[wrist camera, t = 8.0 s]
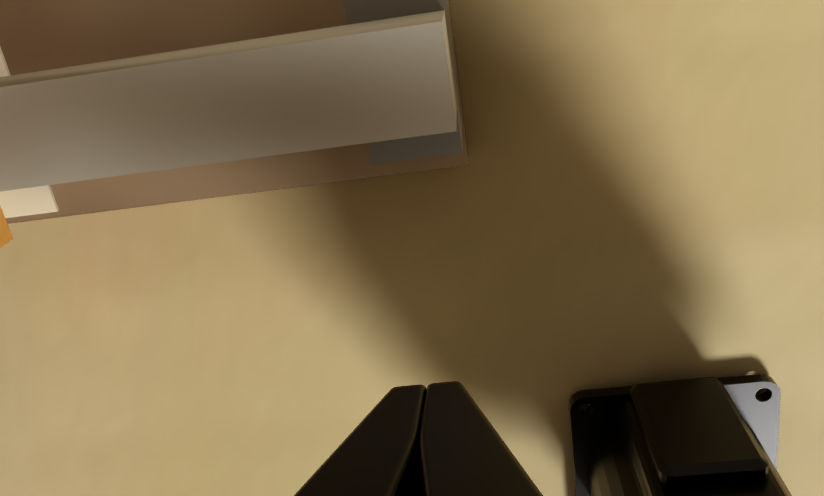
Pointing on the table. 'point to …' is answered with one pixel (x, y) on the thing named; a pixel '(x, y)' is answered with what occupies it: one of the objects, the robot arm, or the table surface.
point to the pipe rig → (218, 98)
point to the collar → (4, 230)
